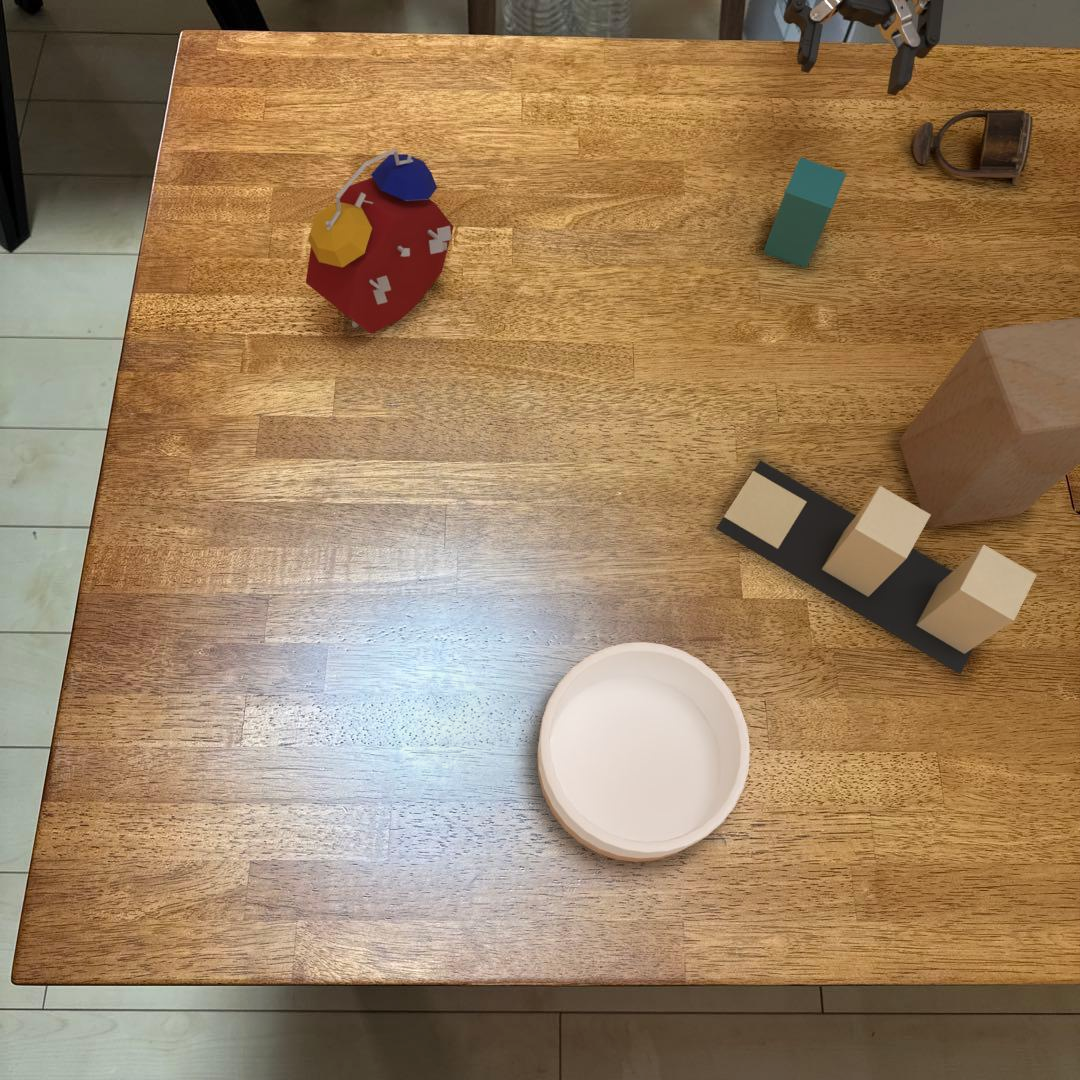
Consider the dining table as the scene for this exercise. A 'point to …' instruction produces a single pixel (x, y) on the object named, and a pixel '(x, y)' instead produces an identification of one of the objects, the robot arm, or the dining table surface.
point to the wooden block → (999, 425)
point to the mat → (808, 540)
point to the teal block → (804, 212)
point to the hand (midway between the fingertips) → (852, 79)
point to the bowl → (642, 751)
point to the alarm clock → (380, 243)
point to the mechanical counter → (984, 143)
